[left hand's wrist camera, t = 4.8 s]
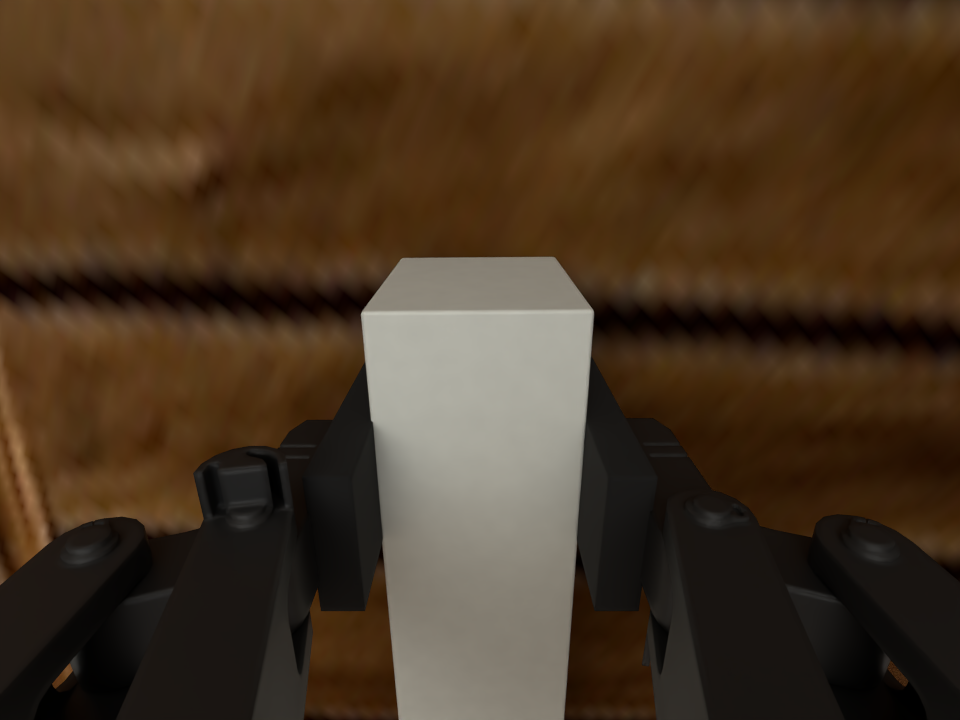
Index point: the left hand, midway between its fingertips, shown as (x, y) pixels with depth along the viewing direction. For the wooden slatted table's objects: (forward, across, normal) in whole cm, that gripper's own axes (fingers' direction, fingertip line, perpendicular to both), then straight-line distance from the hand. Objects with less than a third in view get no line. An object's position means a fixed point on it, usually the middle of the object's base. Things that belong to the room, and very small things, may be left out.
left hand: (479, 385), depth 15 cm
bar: (0, 0, +8) cm, 9 cm away
